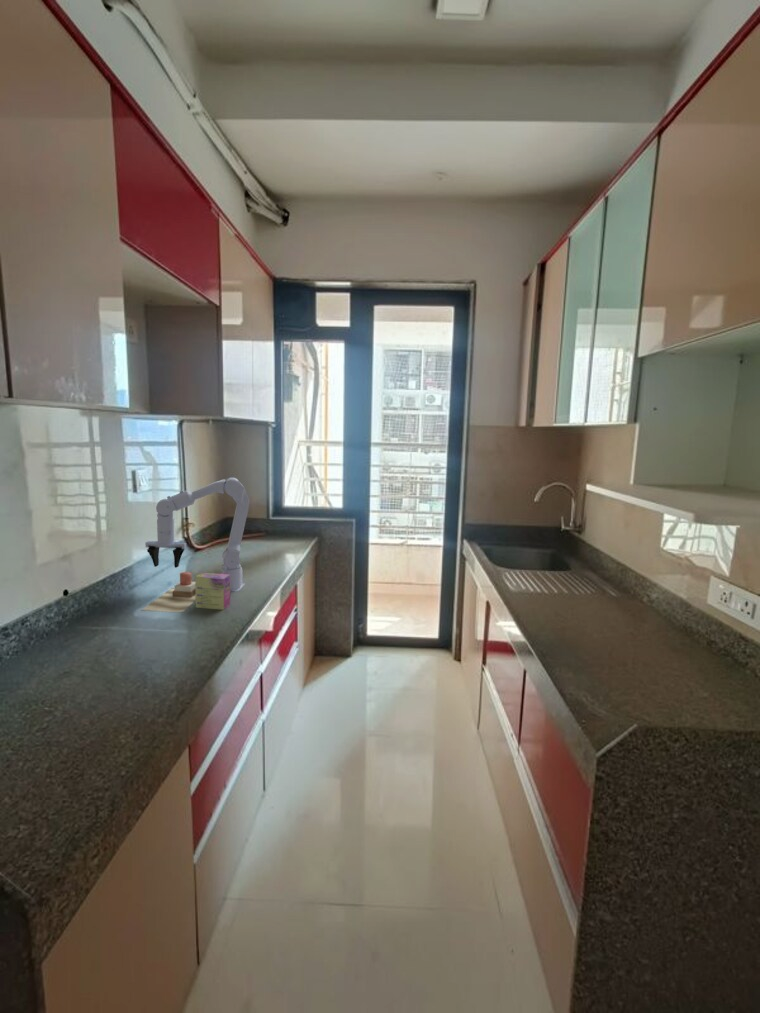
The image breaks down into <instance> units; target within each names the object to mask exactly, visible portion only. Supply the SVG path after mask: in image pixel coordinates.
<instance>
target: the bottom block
mask: <svg viewBox="0 0 760 1013" xmlns="http://www.w3.org/2000/svg"><path fill="white" fill-rule="evenodd" d="M195 594H196V588H195V589H194V590H192V591H191V592H184V591H175V590H174V591H173V597H193V596H194V595H195Z"/></svg>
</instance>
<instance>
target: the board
mask: <svg viewBox="0 0 760 1013" xmlns="http://www.w3.org/2000/svg"><path fill="white" fill-rule="evenodd" d="M173 591H174V587H171V588H170V589H167V591H165V592H164V593H163V594H161V595H160V596H159V597H157V598H156V599H155V600H153V601H152V602H151V603H149V604H148V605H146V606H145V607H143V608H142V609H141V610H140V611H142V612H144V611H145V612H165V613H167V612H169V613H183V612H185V611H186V610H187V609H188V608H190V606H191V605H192V604H193V603H194V602H196V594H195V595H194V596H193V597H173Z"/></svg>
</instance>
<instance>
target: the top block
mask: <svg viewBox="0 0 760 1013" xmlns="http://www.w3.org/2000/svg"><path fill="white" fill-rule="evenodd" d="M173 588H174V590H175V591H184V592H191V591H192V590H194V589H195V588H196V581H192V584H190V585H180V581H179V582H178V583H176V584H175V585H174V587H173Z"/></svg>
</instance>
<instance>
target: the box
mask: <svg viewBox="0 0 760 1013" xmlns="http://www.w3.org/2000/svg"><path fill="white" fill-rule="evenodd" d="M195 582H196V601H195V608H199V609H200V608H201V609H208V610H209V609H210V610H222V611H223V610H225V609H227V608H228V607H229V606H230V605H231V591H230V575H228V574H222V573H215V572H214V573H213V572H201V573H199V574H197V575H196V576H195Z"/></svg>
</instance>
